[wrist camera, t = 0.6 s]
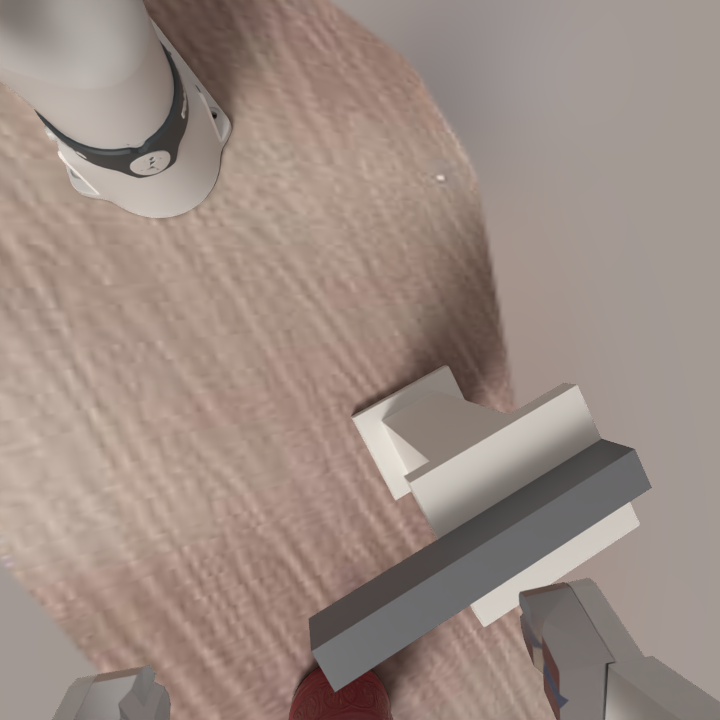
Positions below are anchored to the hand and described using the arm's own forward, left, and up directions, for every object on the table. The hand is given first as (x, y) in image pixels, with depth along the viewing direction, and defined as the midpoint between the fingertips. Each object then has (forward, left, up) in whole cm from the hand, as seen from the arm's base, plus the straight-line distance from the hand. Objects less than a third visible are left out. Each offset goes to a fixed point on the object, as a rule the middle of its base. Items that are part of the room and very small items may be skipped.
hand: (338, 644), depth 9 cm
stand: (+12, +12, -44) cm, 47 cm away
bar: (+12, +7, -18) cm, 23 cm away
